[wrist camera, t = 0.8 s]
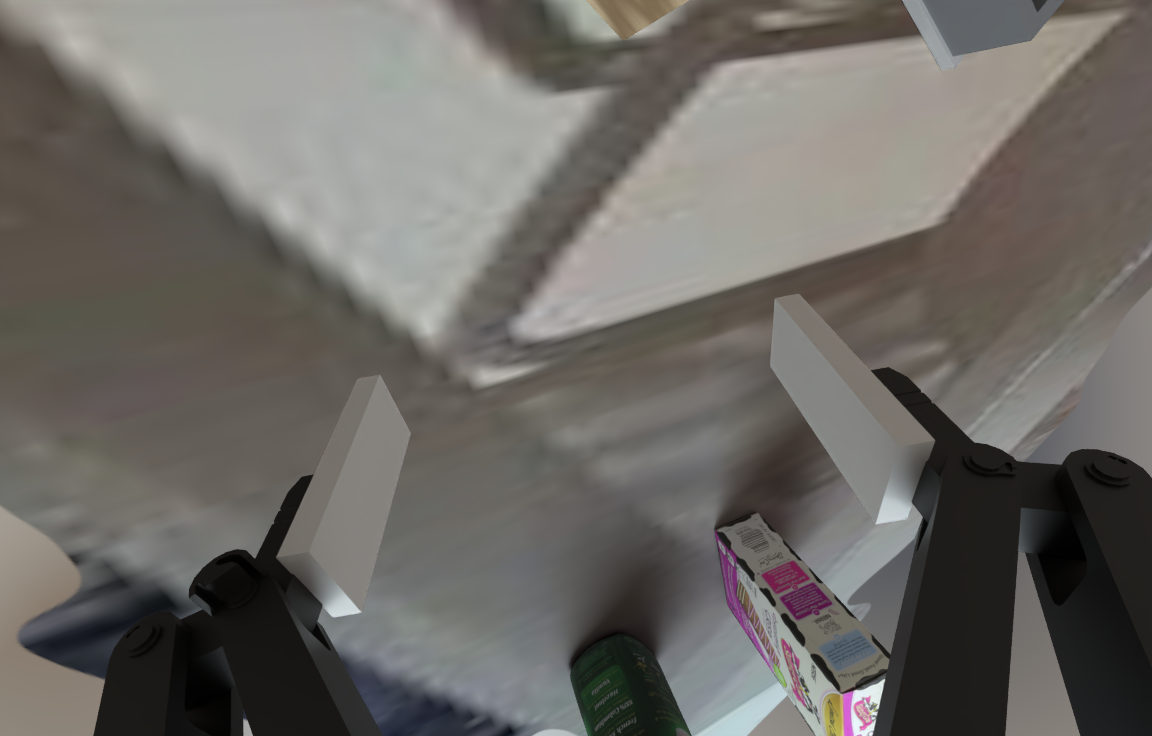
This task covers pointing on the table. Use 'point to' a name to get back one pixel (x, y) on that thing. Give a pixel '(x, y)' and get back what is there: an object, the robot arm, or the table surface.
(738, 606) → the candy bar box
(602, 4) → the oak slat
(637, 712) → the coffee jar
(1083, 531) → the robot arm
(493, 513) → the table surface
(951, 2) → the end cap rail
